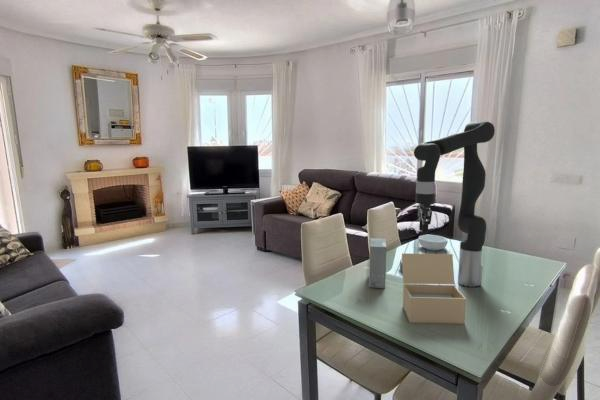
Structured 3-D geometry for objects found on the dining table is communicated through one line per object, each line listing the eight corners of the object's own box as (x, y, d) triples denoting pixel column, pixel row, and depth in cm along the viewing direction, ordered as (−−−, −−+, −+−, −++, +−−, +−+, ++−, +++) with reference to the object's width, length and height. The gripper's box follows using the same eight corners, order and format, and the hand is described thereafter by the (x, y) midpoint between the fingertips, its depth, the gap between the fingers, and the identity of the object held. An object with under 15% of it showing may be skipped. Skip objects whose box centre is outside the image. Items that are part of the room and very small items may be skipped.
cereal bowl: (420, 252, 209) (421, 241, 208) (416, 244, 225) (416, 234, 224) (450, 253, 206) (450, 242, 205) (443, 245, 222) (444, 235, 221)
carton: (453, 308, 138) (454, 285, 136) (464, 324, 126) (466, 298, 125) (402, 307, 140) (403, 284, 138) (409, 322, 128) (410, 297, 126)
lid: (454, 284, 136) (453, 284, 137) (452, 254, 139) (451, 254, 140) (403, 283, 138) (403, 283, 139) (402, 253, 140) (401, 253, 141)
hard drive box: (385, 288, 158) (386, 247, 154) (368, 287, 159) (369, 246, 156) (384, 276, 173) (385, 238, 169) (368, 275, 174) (369, 237, 171)
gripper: (439, 194, 135) (437, 236, 138) (429, 189, 149) (427, 227, 152) (420, 194, 135) (418, 236, 138) (412, 189, 149) (410, 227, 152)
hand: (423, 231), depth 145 cm, fingers open, 4 cm apart
